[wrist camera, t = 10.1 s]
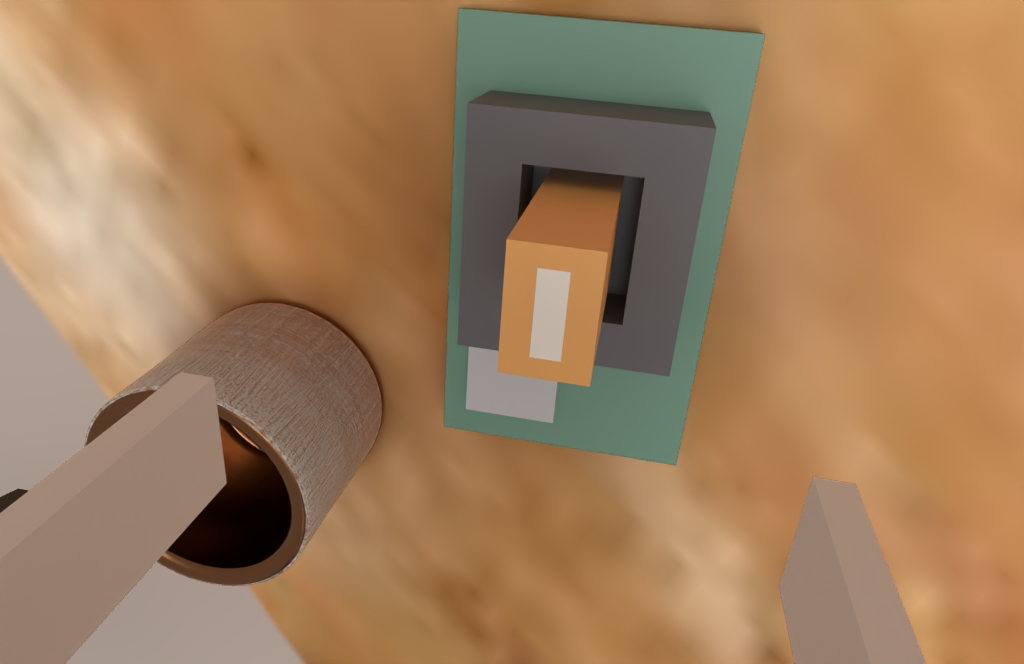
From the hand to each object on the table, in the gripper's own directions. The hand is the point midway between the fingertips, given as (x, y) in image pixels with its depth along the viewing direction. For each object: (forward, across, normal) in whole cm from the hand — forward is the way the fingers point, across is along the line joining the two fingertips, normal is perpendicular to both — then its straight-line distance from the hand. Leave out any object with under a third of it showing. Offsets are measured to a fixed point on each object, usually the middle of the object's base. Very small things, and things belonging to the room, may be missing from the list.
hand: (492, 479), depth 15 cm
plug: (+18, 0, 0) cm, 18 cm away
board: (+20, 0, +2) cm, 20 cm away
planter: (+21, +15, +12) cm, 28 cm away
